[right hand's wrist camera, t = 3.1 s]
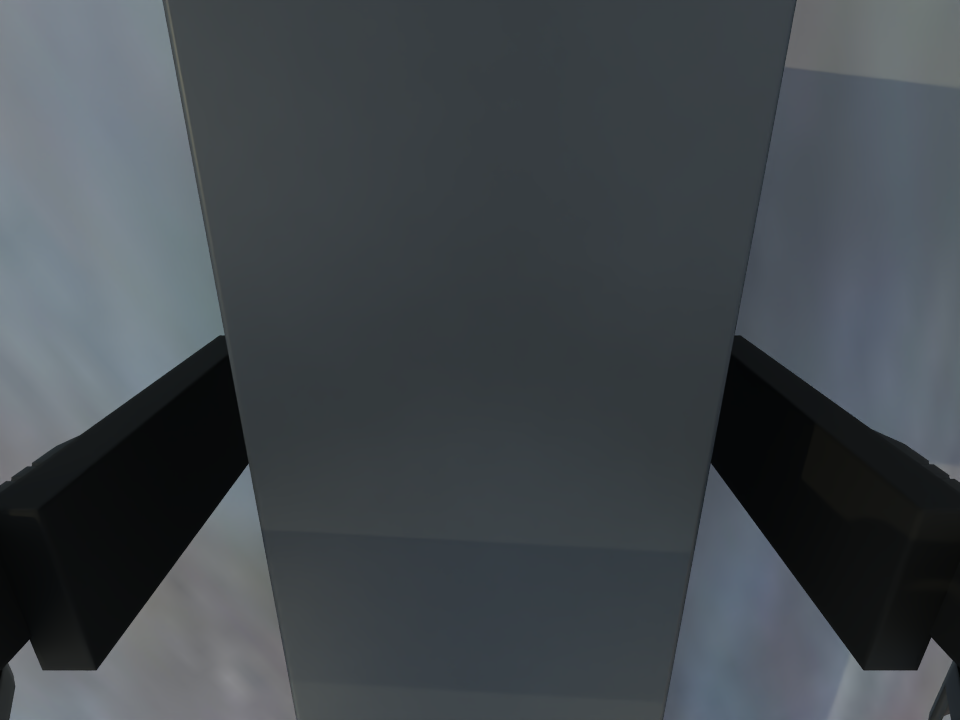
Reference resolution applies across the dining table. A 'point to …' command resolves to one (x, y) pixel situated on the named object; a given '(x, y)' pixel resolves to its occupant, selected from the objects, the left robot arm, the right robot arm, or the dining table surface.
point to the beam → (479, 327)
